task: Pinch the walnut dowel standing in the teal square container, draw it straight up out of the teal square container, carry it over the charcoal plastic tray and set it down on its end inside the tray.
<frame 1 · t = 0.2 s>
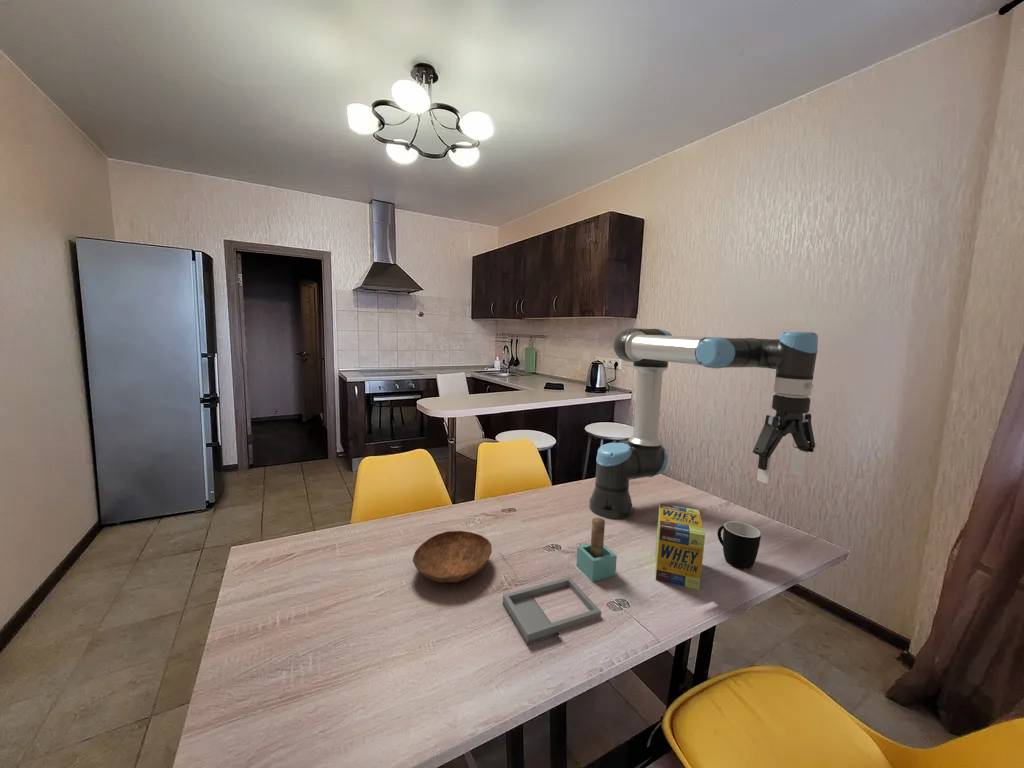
hand: (781, 478, 99), 28 cm above the table, fingers open, 13 cm apart
protein box: (675, 572, 106), on the table
tray: (550, 612, 89), on the table
dowel: (595, 570, 103), point 1 cm above the table, touching teal square container
bowl: (453, 569, 104), on the table
mug: (733, 560, 112), on the table
teal square container: (595, 574, 104), on the table
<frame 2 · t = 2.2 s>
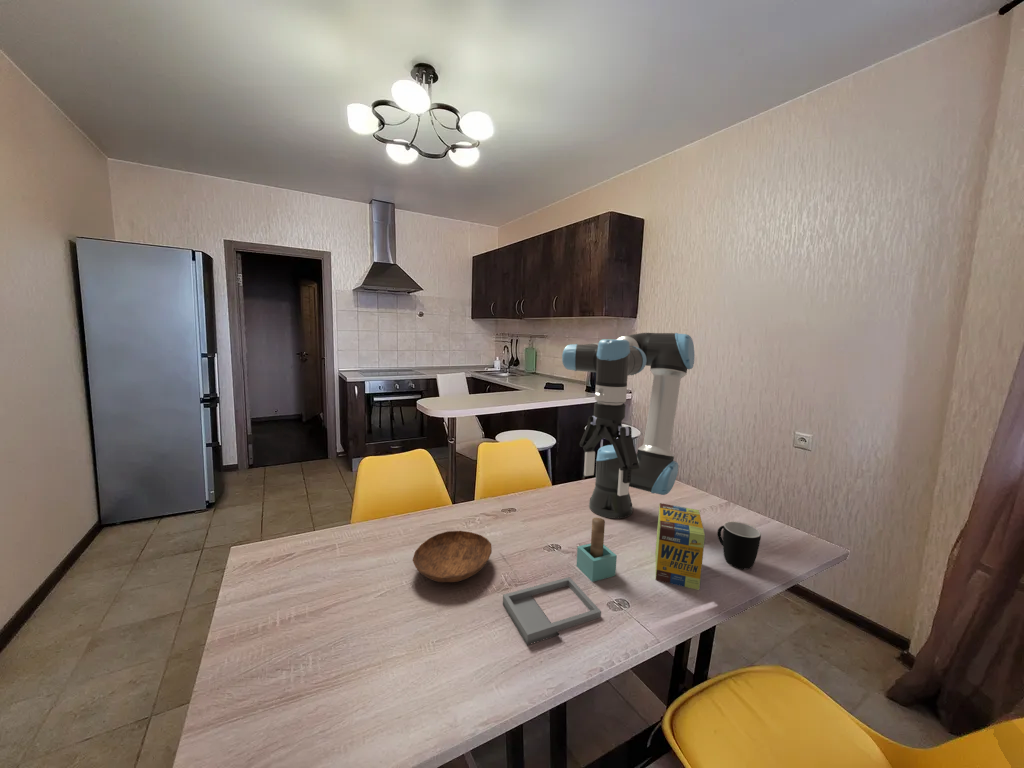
hand: (604, 484, 100), 25 cm above the table, fingers open, 13 cm apart
nothing on the table moved.
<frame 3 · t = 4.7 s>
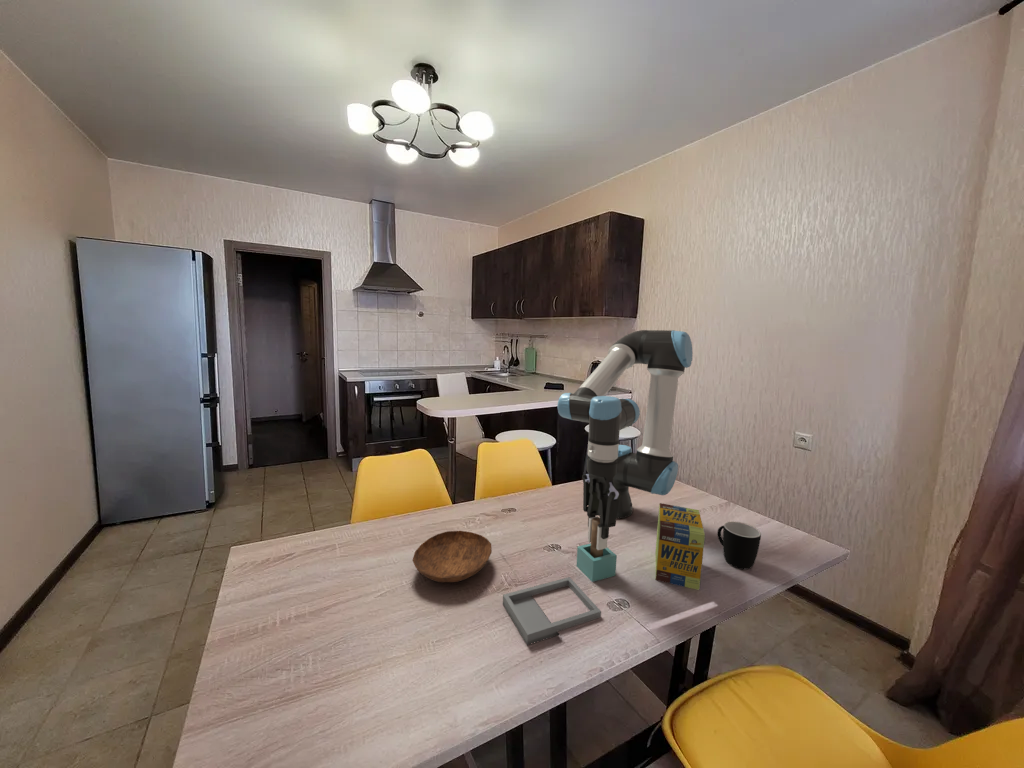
hand: (597, 544, 102), 8 cm above the table, fingers closed on dowel, 3 cm apart
dowel: (595, 570, 103), point 1 cm above the table, touching teal square container, gripper
everything else where it was.
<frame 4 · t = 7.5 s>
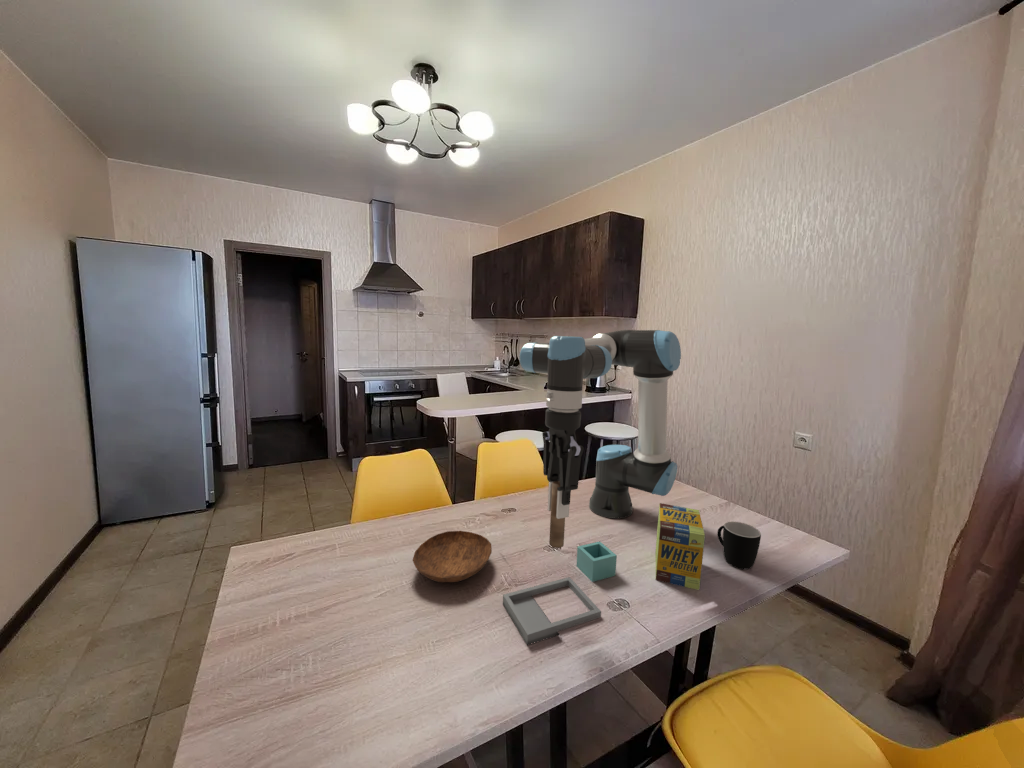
hand: (557, 513, 87), 23 cm above the table, fingers closed on dowel, 3 cm apart
dowel: (556, 543, 88), point 16 cm above the table, touching gripper
everything else where it was.
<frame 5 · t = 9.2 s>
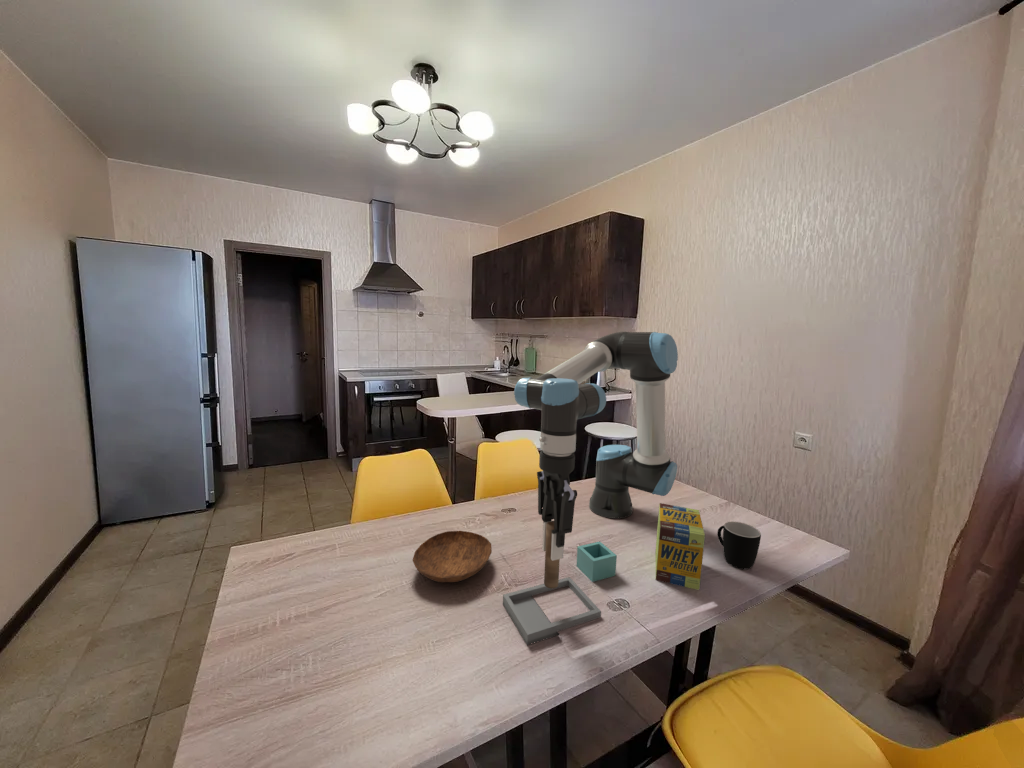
hand: (552, 553, 87), 14 cm above the table, fingers closed on dowel, 3 cm apart
dowel: (551, 583, 88), point 7 cm above the table, touching gripper
everything else where it was.
when the fingers open (9 cm above the table, at t = 10.4 s): dowel drops 2 cm, resting on tray.
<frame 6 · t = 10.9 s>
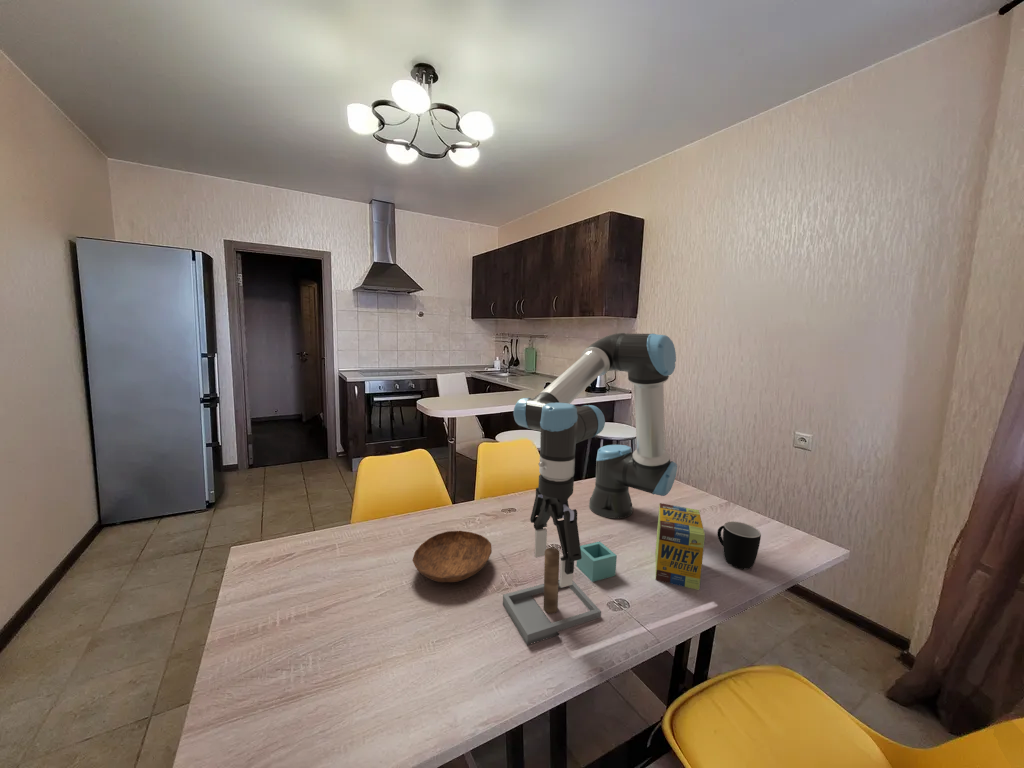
hand: (552, 569, 88), 10 cm above the table, fingers open, 11 cm apart
dowel: (550, 609, 89), point 1 cm above the table, touching tray
everything else where it was.
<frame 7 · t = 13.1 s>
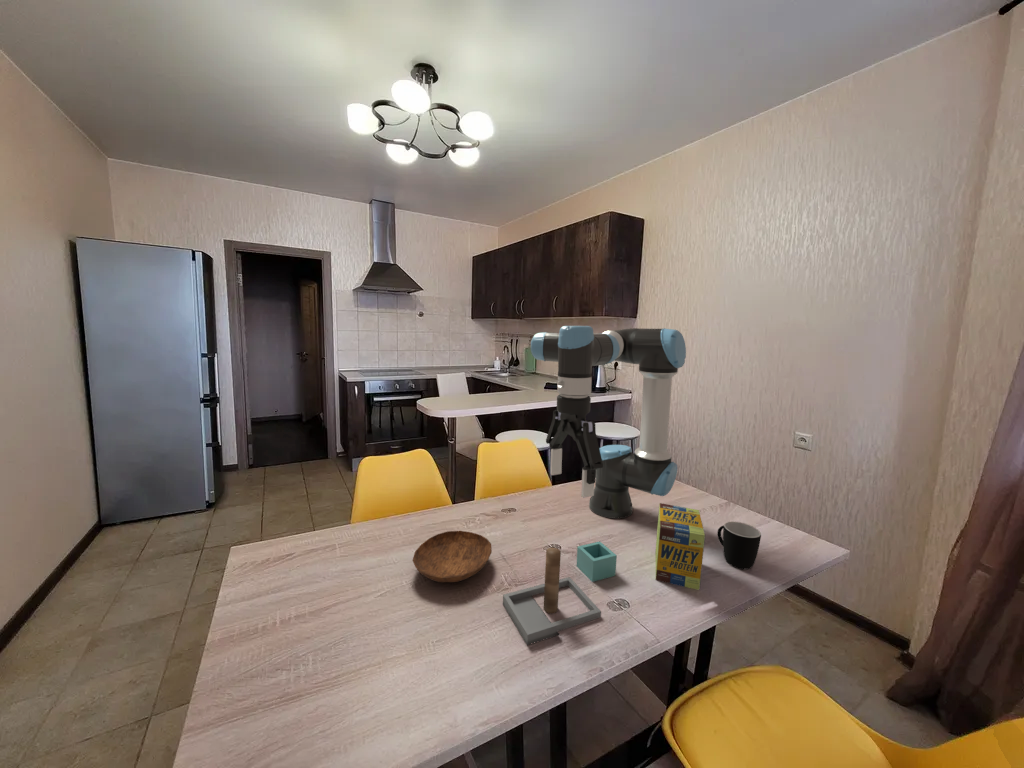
hand: (570, 484, 92), 28 cm above the table, fingers open, 13 cm apart
nothing on the table moved.
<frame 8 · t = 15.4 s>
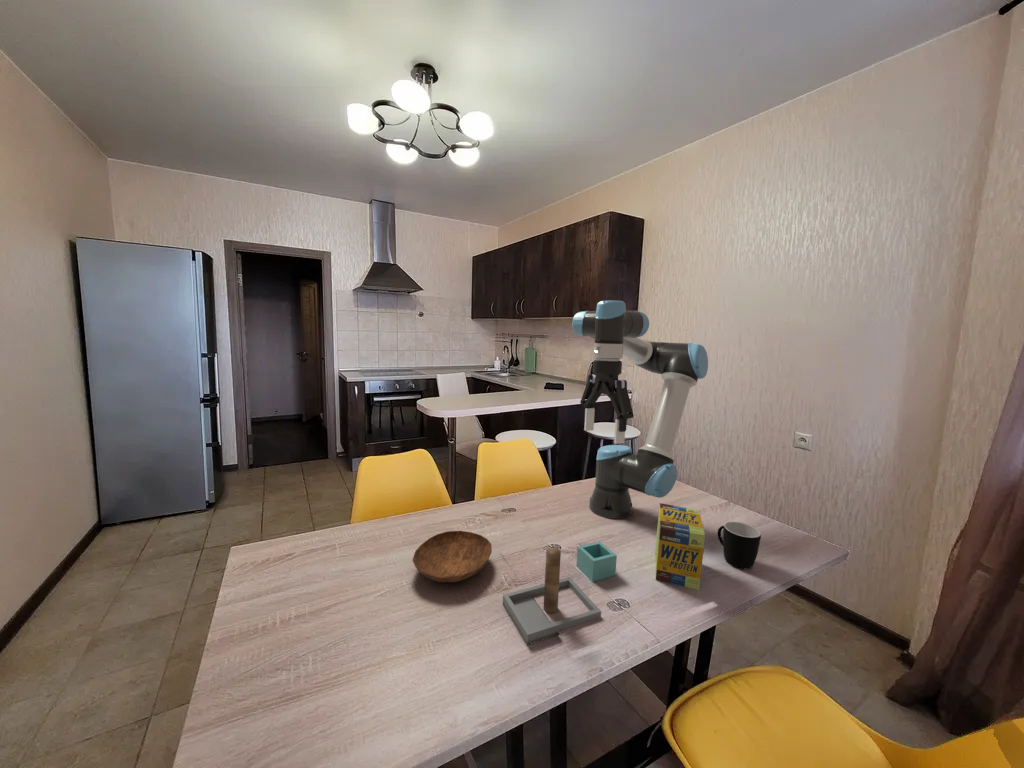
hand: (603, 436, 108), 35 cm above the table, fingers open, 13 cm apart
nothing on the table moved.
at the end: dowel inside the target area on the tray (0.0 cm from its centre), point 0.8 cm above the tray's base; dowel moved 19.7 cm from its start; the gripper is holding nothing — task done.
